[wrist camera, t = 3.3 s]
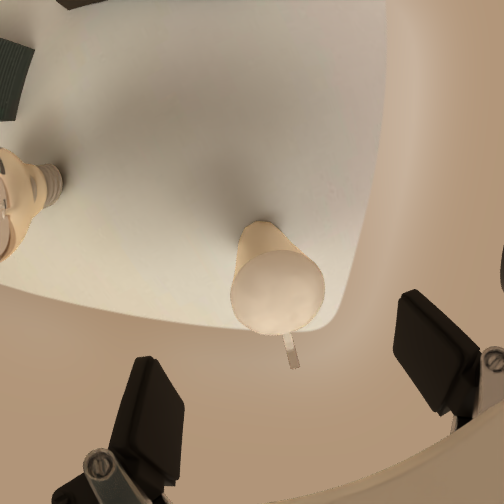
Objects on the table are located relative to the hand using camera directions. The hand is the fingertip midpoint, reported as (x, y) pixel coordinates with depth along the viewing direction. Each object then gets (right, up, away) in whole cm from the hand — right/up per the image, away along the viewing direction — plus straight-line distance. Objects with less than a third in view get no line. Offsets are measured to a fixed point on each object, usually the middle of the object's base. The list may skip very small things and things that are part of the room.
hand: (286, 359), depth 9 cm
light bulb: (-17, +10, +8) cm, 21 cm away
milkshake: (-1, +4, +11) cm, 12 cm away
